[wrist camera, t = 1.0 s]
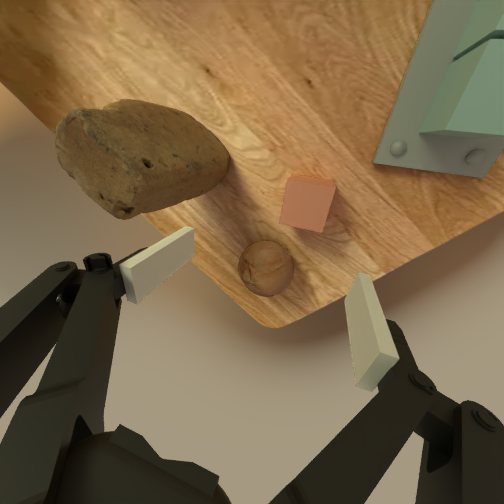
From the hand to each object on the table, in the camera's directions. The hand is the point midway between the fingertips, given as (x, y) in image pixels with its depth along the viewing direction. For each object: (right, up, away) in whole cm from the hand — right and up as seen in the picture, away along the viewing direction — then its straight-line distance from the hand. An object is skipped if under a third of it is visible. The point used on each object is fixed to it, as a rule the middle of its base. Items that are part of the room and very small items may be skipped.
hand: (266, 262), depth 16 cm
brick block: (+8, +9, +16) cm, 20 cm away
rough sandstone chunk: (-9, +17, +17) cm, 26 cm away
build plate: (+22, +20, +5) cm, 30 cm away
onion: (+3, 0, +23) cm, 23 cm away
